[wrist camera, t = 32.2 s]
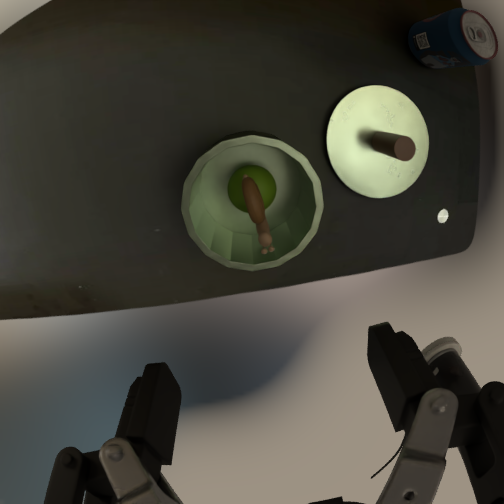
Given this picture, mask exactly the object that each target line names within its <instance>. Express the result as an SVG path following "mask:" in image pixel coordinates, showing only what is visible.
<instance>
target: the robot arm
mask: <svg viewBox="0 0 504 504" xmlns="http://www.w3.org/2000/svg"><path fill="white" fill-rule="evenodd" d="M367 356H368V363H369V366H370V369H371V372H372V374H373V376H374V379H375V381H376V384H377V386H378V389H379V391H380V393H381V395H382V398H383V401H384V403H385V406H386V408H387V411H388V413H389V416H390V419H391V422H392V424H393V427H394V429H395V432H398V431H401V430H404V431H405V436H404V439H403V441H402V444H401V446H400V448H399V449H398V451H397V452H396V454H395V455H394V456H393V457H392V458H391V460H389V462H388V463H386V464H385V466H383V467H382V468H381V469H380V470H379V471H378V472H376V473H375V474H374V475H373V476H372V477H371V478H373V477H374V476H376V475H377V474H378V473H379V472H380V471H381V470H382V469H384V468H385V467H386V466H387V465H388V464H389V463H390V462H391V461H392V460H393V459H394V458H395V457H396V455H397V454H398V453H399V451H400V450H401V452H400V455H399V457H398V459H397V461H396V464H395V466H394V468H393V470H392V473H391V475H390V477H389V479H388V481H387V483H386V485H385V487H384V489H383V491H382V493H381V495H380V497H379V499H378V501H377V502H376V504H432V502H433V500H434V497H435V495H436V492H437V489H438V486H439V484H440V481H441V479H442V476H443V472H444V470H445V466H446V460H445V456H446V452H447V449H448V448H454V447H458V449H459V452H460V454H461V456H462V459H463V461H464V464H465V467H466V469H467V473H468V476H469V479H470V482H471V485H472V487H473V490H474V494H475V497H476V500H477V503H478V504H504V384H503V383H501V382H497V381H493V382H489V383H487V384H485V385H484V386H483V387H482V388H480V386H479V385H478V383H477V382H476V380H475V378H474V377H473V375H472V374H471V372H470V371H469V369H468V368H467V366H466V365H465V363H464V362H463V360H462V359H461V357H460V356H459V354H458V352H457V351H456V350H455V349H454V348H448V349H444V350H442V351H440V352H438V353H437V354H435V355H434V356H433V357H432V358H431V359H430V360H429V361H428V362H427V361H426V360H425V358H424V357H423V355H422V353H421V351H420V350H419V349H418V346H417V345H416V343H415V342H414V340H413V339H412V337H410V336H409V335H408V334H406V333H405V332H403V331H400V332H397V333H395V332H394V330H393V329H392V327H391V325H390V324H389V323H388V322H384V323H380V324H376V325H373V326H369V329H368V350H367ZM127 397H128V398H127V399H126V402H125V407H124V408H123V412H122V415H121V418H120V421H119V425H118V428H117V432H116V435H115V437H114V438H112V439H109V440H108V441H106V442H105V443H104V444H103V445H102V447H101V449H100V450H98V451H93V452H87V453H82V452H80V451H79V450H78V449H77V448H75V447H66V448H64V449H62V450H61V451H60V452H59V453H58V455H57V457H56V459H55V463H54V467H53V470H52V473H51V477H50V481H49V485H48V488H47V492H46V497H45V501H44V504H82V502H83V496H84V492H85V490H86V495H85V500H84V504H183V503H182V501H181V500H180V499H179V497H178V496H177V494H176V493H175V492H174V490H173V489H172V488H171V486H170V484H169V483H168V482H167V480H166V479H165V477H164V476H163V474H162V473H161V472H160V471H161V465H171V464H172V456H173V450H174V443H175V436H176V429H177V422H178V416H179V410H180V405H181V390H180V387H179V385H178V383H177V381H176V379H175V378H174V376H173V374H172V372H171V371H170V369H169V367H168V365H167V364H166V363H165V362H162V363H151V364H147V365H146V366H145V369H144V372H143V375H142V377H137V378H136V380H135V381H134V382H133V384H132V385H131V386H130V389H129V392H128V395H127ZM403 444H404V445H403ZM402 446H403V447H402ZM401 448H402V449H401ZM309 504H364V503H359V502H343V499H342V497H337V498H333V499H328V500H323V501H318V502H312V503H309Z"/></svg>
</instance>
